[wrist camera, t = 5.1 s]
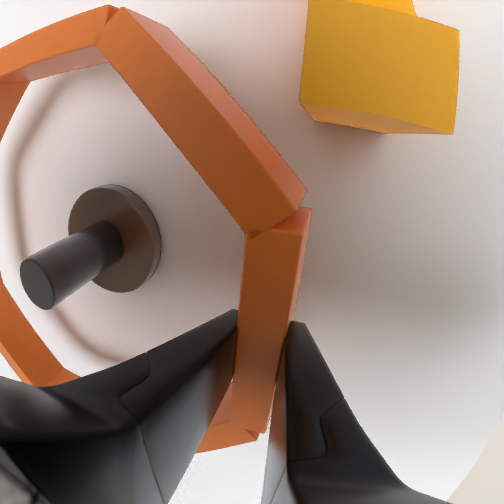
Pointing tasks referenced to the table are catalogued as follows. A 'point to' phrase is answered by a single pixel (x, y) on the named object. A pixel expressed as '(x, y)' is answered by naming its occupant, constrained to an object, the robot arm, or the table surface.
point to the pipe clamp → (379, 67)
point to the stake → (96, 248)
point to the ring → (211, 171)
